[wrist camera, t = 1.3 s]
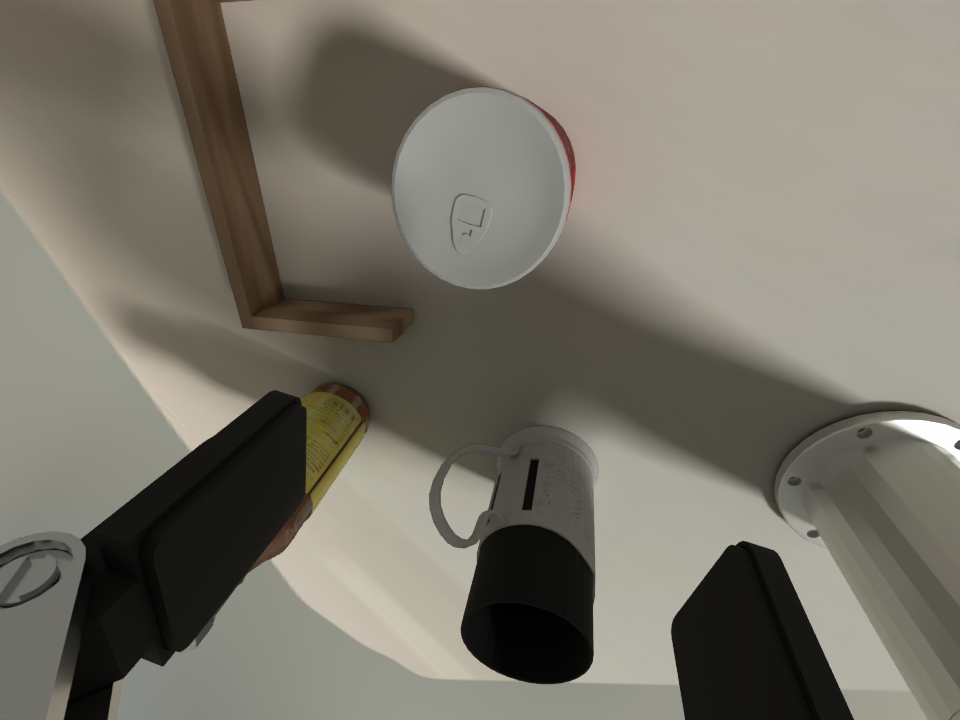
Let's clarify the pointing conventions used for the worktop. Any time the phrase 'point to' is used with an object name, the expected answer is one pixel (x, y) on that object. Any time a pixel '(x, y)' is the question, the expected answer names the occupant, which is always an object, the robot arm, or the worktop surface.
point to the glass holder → (531, 557)
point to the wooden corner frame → (246, 185)
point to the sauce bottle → (317, 460)
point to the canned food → (482, 187)
